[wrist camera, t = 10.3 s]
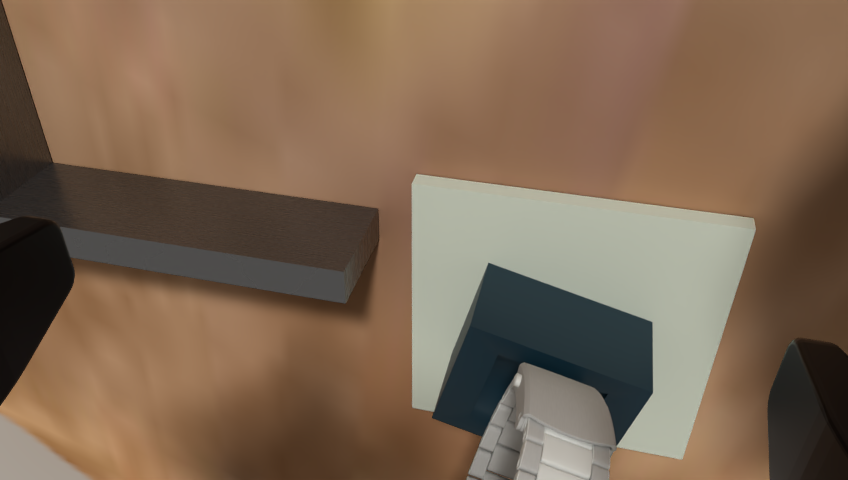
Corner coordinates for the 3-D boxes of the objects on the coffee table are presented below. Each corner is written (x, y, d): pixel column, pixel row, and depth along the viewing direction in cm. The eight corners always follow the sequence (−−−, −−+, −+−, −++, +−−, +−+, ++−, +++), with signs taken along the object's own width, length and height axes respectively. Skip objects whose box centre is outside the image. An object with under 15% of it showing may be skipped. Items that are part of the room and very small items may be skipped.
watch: (438, 387, 28) (341, 697, 19) (505, 220, 23) (417, 533, 14) (581, 440, 27) (550, 779, 19) (680, 282, 23) (701, 641, 14)
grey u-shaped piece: (363, -231, 17) (309, -221, 15) (379, 238, 25) (345, 303, 22) (-115, -243, 20) (-238, -236, 17) (32, 186, 28) (-36, 239, 25)
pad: (753, 218, 21) (756, 229, 21) (681, 446, 27) (682, 459, 27) (416, 174, 23) (411, 183, 23) (416, 396, 29) (412, 407, 29)
